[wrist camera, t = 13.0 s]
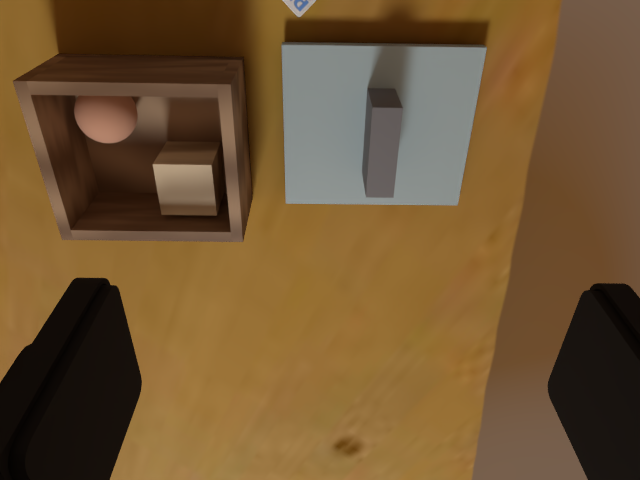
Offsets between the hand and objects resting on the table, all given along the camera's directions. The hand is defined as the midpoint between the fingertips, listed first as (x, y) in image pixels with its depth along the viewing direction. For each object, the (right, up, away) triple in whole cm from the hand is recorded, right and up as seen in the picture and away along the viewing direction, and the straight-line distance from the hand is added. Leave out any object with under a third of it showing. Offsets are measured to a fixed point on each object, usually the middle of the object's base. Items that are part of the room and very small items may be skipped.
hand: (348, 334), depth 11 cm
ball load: (-19, +14, +35) cm, 42 cm away
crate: (-15, +12, +38) cm, 43 cm away
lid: (+5, +13, +38) cm, 40 cm away
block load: (-12, +9, +39) cm, 42 cm away
